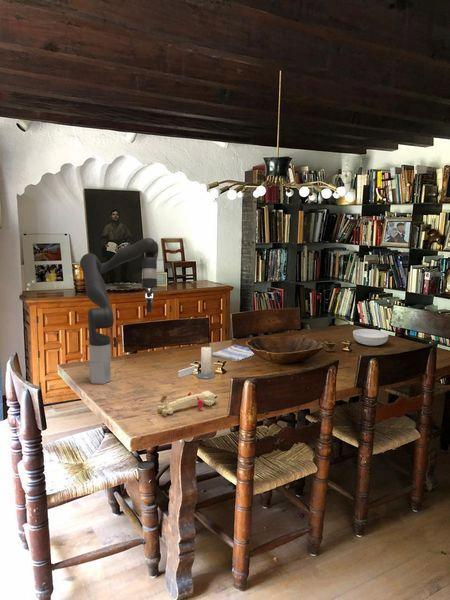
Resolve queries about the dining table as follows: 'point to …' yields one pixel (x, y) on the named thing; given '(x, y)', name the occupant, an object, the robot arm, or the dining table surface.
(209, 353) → the candle
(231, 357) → the dish towel
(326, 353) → the dining table surface
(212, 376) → the coaster
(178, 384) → the dining table surface
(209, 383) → the dining table surface
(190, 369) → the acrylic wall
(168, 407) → the rope dog toy
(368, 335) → the serving bowl
